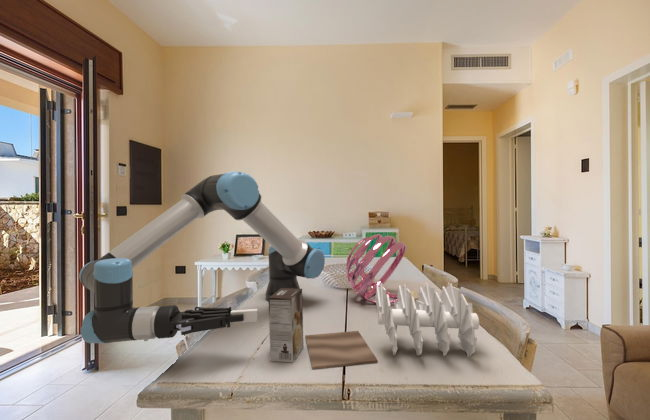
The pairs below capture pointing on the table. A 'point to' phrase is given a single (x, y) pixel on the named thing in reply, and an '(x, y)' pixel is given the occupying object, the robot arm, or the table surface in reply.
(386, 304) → the spiral staircase
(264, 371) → the table surface
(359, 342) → the walnut board
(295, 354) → the coffee box
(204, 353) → the table surface
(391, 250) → the spiral basket
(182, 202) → the robot arm
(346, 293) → the table surface
